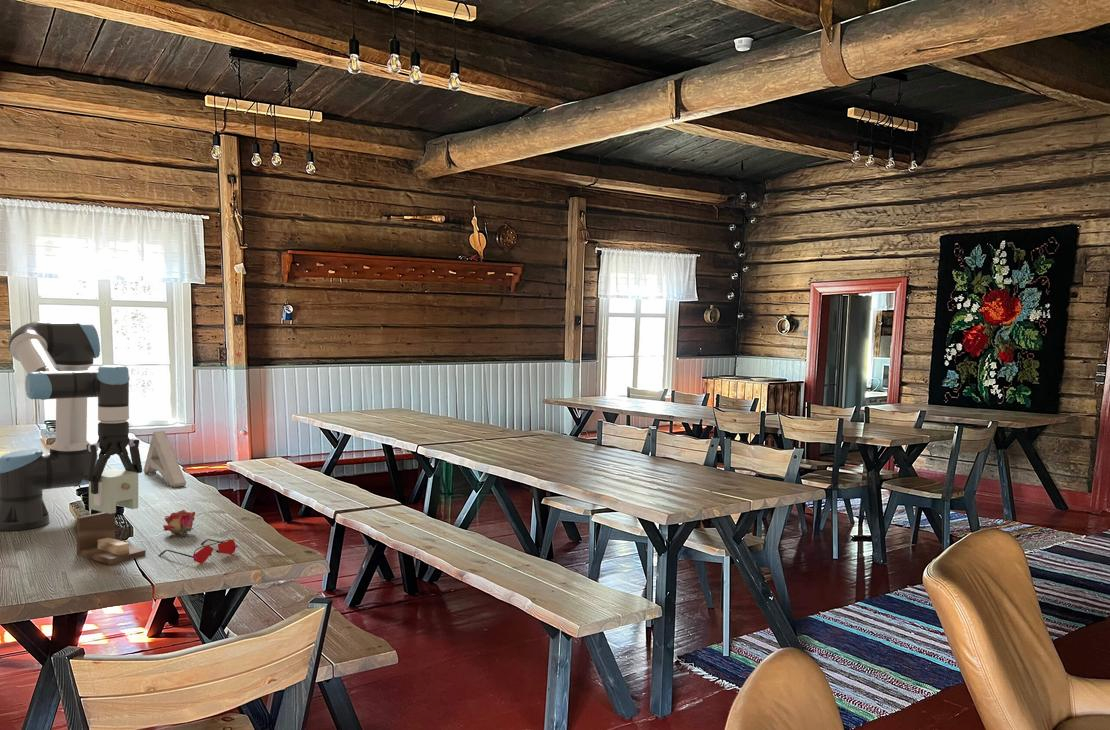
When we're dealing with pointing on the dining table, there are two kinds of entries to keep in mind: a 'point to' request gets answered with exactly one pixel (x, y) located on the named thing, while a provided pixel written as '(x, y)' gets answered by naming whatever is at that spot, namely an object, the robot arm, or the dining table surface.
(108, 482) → the cabinet block
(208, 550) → the glasses
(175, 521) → the flower
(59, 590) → the dining table surface
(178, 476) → the wooden letter a
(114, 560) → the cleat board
